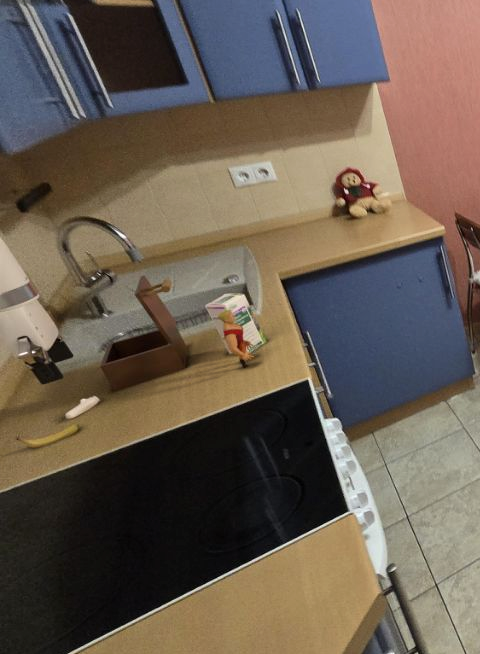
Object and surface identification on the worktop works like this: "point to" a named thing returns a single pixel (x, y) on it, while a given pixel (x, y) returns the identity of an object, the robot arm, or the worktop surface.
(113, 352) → the chest
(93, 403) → the small white plastic part
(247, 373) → the worktop surface
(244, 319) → the syrup box
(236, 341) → the action figure
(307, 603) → the worktop surface
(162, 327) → the lid
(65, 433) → the banana
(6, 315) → the robot arm
